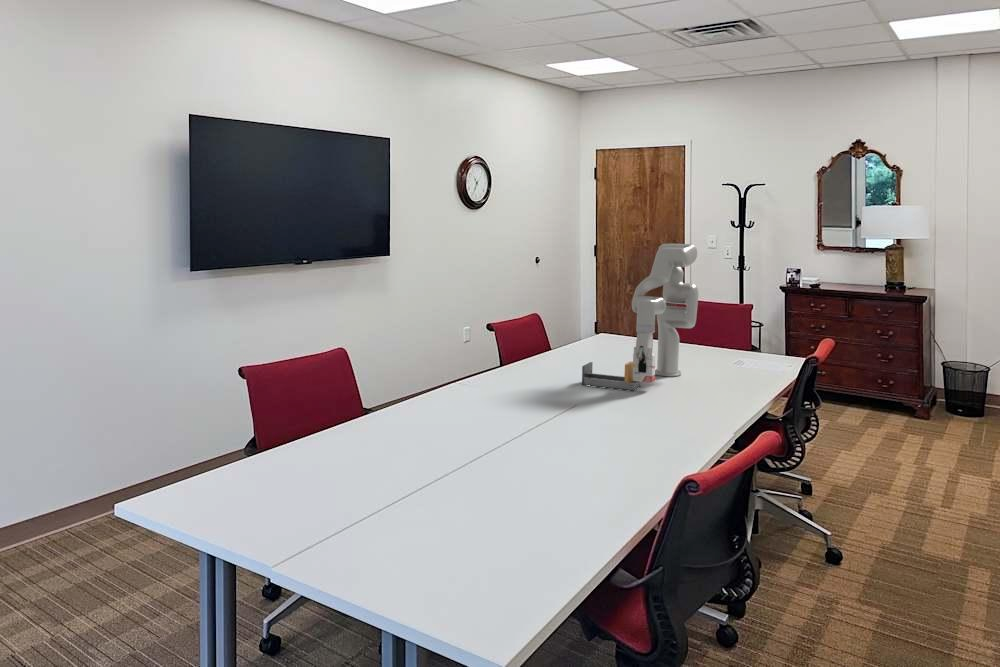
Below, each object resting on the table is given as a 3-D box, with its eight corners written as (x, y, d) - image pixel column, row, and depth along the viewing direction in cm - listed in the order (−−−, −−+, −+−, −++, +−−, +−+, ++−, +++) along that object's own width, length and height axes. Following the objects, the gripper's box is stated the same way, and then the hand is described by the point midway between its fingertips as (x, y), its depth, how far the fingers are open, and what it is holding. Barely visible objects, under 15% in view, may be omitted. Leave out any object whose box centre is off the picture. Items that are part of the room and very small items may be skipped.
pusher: (629, 384, 322) (630, 361, 320) (632, 384, 321) (633, 361, 320) (624, 387, 316) (624, 364, 314) (627, 388, 315) (628, 364, 313)
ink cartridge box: (655, 380, 315) (656, 346, 313) (651, 383, 311) (653, 348, 309) (635, 378, 319) (636, 344, 317) (632, 380, 315) (633, 346, 312)
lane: (589, 380, 331) (590, 362, 330) (640, 386, 321) (641, 367, 320) (581, 385, 323) (582, 366, 321) (633, 391, 312) (634, 371, 311)
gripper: (642, 324, 320) (641, 366, 324) (630, 330, 306) (629, 374, 309) (659, 326, 317) (658, 367, 320) (648, 332, 302) (647, 375, 305)
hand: (644, 370), depth 314 cm, fingers closed on ink cartridge box, 5 cm apart
